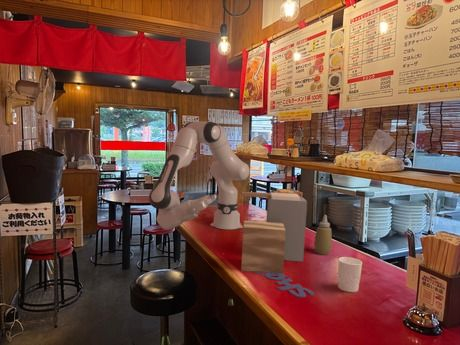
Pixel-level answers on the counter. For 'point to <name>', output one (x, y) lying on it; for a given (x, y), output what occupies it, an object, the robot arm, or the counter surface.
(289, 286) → the signage
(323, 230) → the squeeze bottle
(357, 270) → the white cup
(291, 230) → the carton
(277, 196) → the lid flap
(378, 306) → the counter surface
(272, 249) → the box
